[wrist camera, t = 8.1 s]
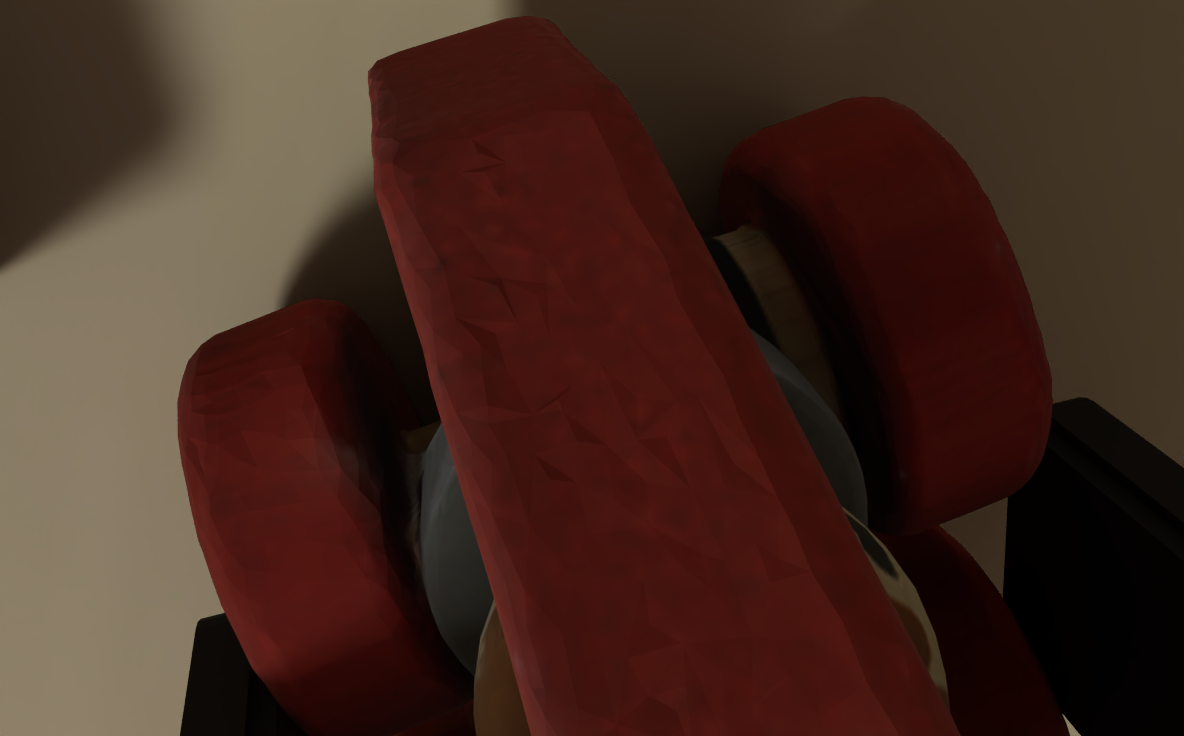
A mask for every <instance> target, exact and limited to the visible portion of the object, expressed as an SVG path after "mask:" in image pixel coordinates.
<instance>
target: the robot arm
mask: <svg viewBox="0 0 1184 736" xmlns="http://www.w3.org/2000/svg"><path fill="white" fill-rule="evenodd" d="M1003 599H1004V600H1005V602H1006V603H1007V605H1008V607H1009V608H1010V610H1011V612H1012V613H1013V615H1014V617H1015V619H1016V621H1017V623H1018V624H1019V626H1020V627H1021V629H1022V630H1023V632H1024V634H1025V636H1026V638H1027V640H1028V642H1029V644H1030V646H1031V647H1032V649H1033V651H1034V653H1035V654H1036V656H1037V658H1038V659H1039V661H1040V663H1041V665H1042V668H1043V670H1044V672H1045V674H1046V676H1047V679H1048V681H1049V683H1050V685H1051V688H1052V690H1053V693H1054V695H1055V697H1056V700H1057V702H1058V705H1059V707H1060V710H1061V712H1062V714H1063V715H1064V716H1065V717H1066V718H1067V720H1068V721H1069V722H1070V723H1071V724H1072V725H1073V727H1074V728H1075V729H1076V730H1077V731H1078V733H1079V734H1080V735H1081V736H1184V468H1183V467H1182V466H1180V465H1179V464H1178V463H1176V462H1175V461H1174V460H1172V459H1171V458H1169V457H1168V456H1167V455H1165V454H1164V453H1163V452H1161V451H1160V450H1159V449H1157V448H1156V447H1155V446H1153V445H1152V444H1151V443H1149V442H1148V441H1146V440H1145V439H1144V438H1142V437H1141V436H1140V435H1138V434H1137V433H1136V432H1134V431H1133V430H1132V429H1130V428H1129V427H1128V426H1126V425H1125V424H1124V423H1122V422H1121V421H1119V420H1118V419H1117V418H1115V417H1114V416H1113V415H1111V414H1110V413H1109V412H1107V411H1106V410H1105V409H1103V408H1102V407H1101V406H1099V405H1098V404H1096V403H1095V402H1094V401H1092V400H1090V399H1088V398H1080V397H1079V398H1075V399H1071V400H1067V401H1063V402H1059V403H1055V404H1053V405H1052V416H1051V427H1050V432H1049V436H1048V440H1047V444H1046V448H1045V452H1044V455H1043V458H1042V461H1041V463H1040V464H1039V466H1038V468H1037V469H1036V471H1035V473H1034V474H1033V476H1032V477H1031V478H1030V479H1029V480H1028V482H1027V483H1026V484H1025V485H1024V486H1023V487H1022V488H1021V489H1019V490H1018V491H1016V492H1015V493H1014V494H1012V495H1011V496H1009V497H1008V507H1007V526H1006V546H1005V566H1004V585H1003ZM180 736H309V735H308V734H306V733H305V732H304V731H303V730H302V729H301V728H300V727H299V726H298V725H297V724H296V723H295V722H294V721H293V720H292V719H291V718H290V717H289V716H288V715H287V714H286V713H285V712H284V711H283V710H282V708H281V707H280V705H279V704H278V702H277V701H276V699H275V698H274V697H273V695H272V694H271V692H270V691H269V689H268V688H267V686H266V685H265V683H264V682H263V681H262V680H261V678H260V677H259V676H258V675H257V674H256V672H255V671H254V670H253V669H252V667H251V665H250V663H249V661H248V659H247V657H246V654H245V652H244V650H243V648H242V646H241V644H240V642H239V640H238V638H237V636H236V634H235V632H234V630H233V628H232V626H231V624H230V622H229V620H228V618H227V616H226V614H225V613H222V614H218V615H215V616H211V617H207V618H203V619H200V620H199V621H198V623H197V627H196V631H195V638H194V644H193V651H192V658H191V665H190V671H189V678H188V685H187V691H186V698H185V705H184V712H183V718H182V725H181V732H180Z"/></svg>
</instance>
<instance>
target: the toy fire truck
mask: <svg viewBox="0 0 1184 736" xmlns="http://www.w3.org/2000/svg"><path fill="white" fill-rule="evenodd" d="M368 85H369V96H370V101H371V114H372V134H371V142H372V155H373V162H374V192H375V195H376V198H377V202H378V205H379V208H380V211H381V214H382V217H383V220H384V224H385V227H386V230H387V234H388V237H389V241H390V244H391V247H392V251H393V254H394V258H395V261H396V264H397V268H398V271H399V274H400V278H401V281H402V284H403V288H404V291H405V294H406V297H407V301H408V304H409V307H410V310H411V313H412V316H413V320H414V323H415V326H416V329H417V332H418V335H419V339H420V342H421V345H422V348H423V353H424V357H425V361H426V366H427V370H428V375H429V379H430V384H431V388H432V391H433V395H434V398H435V401H436V405H437V408H438V411H439V415H440V418H441V420H440V421H437V422H434V423H432V424H429V425H426V426H424V427H421V426H420V424H419V422H418V420H417V417H416V415H415V413H414V411H413V409H412V406H411V404H410V402H409V400H408V398H407V396H406V393H405V391H404V389H403V387H402V385H401V382H400V380H399V378H398V376H397V374H396V372H395V371H394V369H393V367H392V366H391V364H390V362H389V361H388V359H387V357H386V356H385V354H384V352H383V351H382V349H381V347H380V346H379V344H378V342H377V341H376V339H375V338H374V336H373V334H372V333H371V331H370V330H369V328H368V327H367V325H366V324H365V323H364V322H363V321H362V319H361V318H360V317H359V316H358V314H357V313H355V312H354V311H353V310H352V309H351V308H350V307H348V306H346V305H345V304H343V303H341V302H339V301H332V300H323V299H309V300H304V301H300V302H297V303H295V304H292V305H290V306H287V307H285V308H282V309H280V310H277V311H275V312H272V313H270V314H267V315H265V316H262V317H260V318H257V319H255V320H252V321H249V322H247V323H244V324H242V325H239V326H237V327H234V328H232V329H229V330H227V331H224V332H221V333H219V334H216V335H214V336H213V337H212V338H210V339H209V340H207V341H206V342H205V343H203V344H202V345H201V346H200V347H199V348H198V350H197V351H196V352H195V353H194V354H193V356H192V357H191V358H190V359H189V361H188V363H187V366H186V369H185V372H184V375H183V378H182V382H181V387H180V392H179V397H178V402H177V404H178V440H179V447H180V454H181V461H182V466H183V471H184V476H185V481H186V486H187V491H188V496H189V501H190V506H191V511H192V515H193V519H194V524H195V528H196V532H197V537H198V540H199V543H200V546H201V548H202V551H203V554H204V557H205V560H206V563H207V566H208V569H209V572H210V575H211V578H212V581H213V583H214V586H215V589H216V592H217V594H218V597H219V600H220V603H221V605H222V607H223V610H224V612H225V614H226V616H227V618H228V620H229V622H230V624H231V626H232V628H233V630H234V632H235V634H236V636H237V638H238V640H239V642H240V644H241V646H242V648H243V650H244V652H245V654H246V657H247V659H248V661H249V663H250V665H251V667H252V669H253V670H254V671H255V672H256V674H257V675H258V676H259V677H260V678H261V680H262V681H263V682H264V683H265V685H266V686H267V688H268V689H269V691H270V692H271V694H272V695H273V697H274V698H275V699H276V701H277V702H278V704H279V705H280V707H281V708H282V710H283V711H284V712H285V713H286V714H287V715H288V716H289V717H290V718H291V719H292V720H293V721H294V722H295V723H296V724H297V725H298V726H299V727H300V728H301V729H302V730H303V731H304V732H305V733H306V734H308V735H309V736H1070V734H1069V731H1068V727H1067V724H1066V722H1065V719H1064V717H1063V715H1062V712H1061V710H1060V707H1059V705H1058V702H1057V700H1056V697H1055V695H1054V693H1053V690H1052V688H1051V685H1050V683H1049V681H1048V679H1047V676H1046V674H1045V672H1044V670H1043V668H1042V665H1041V663H1040V661H1039V659H1038V658H1037V656H1036V654H1035V653H1034V651H1033V649H1032V647H1031V646H1030V644H1029V642H1028V640H1027V638H1026V636H1025V634H1024V632H1023V630H1022V629H1021V627H1020V626H1019V624H1018V623H1017V621H1016V619H1015V617H1014V615H1013V613H1012V612H1011V610H1010V608H1009V607H1008V605H1007V603H1006V602H1005V600H1004V599H1003V597H1002V596H1001V594H1000V593H999V591H998V590H997V588H996V587H995V585H994V584H993V583H992V582H991V580H990V579H989V578H988V576H987V575H986V574H985V572H984V571H983V570H982V569H981V567H980V566H979V565H978V563H977V562H976V561H975V560H974V558H973V557H972V556H971V555H970V554H969V553H968V552H967V551H966V549H965V548H964V547H963V546H962V545H961V544H960V543H959V542H958V541H957V540H956V539H954V538H953V537H952V536H951V535H949V534H948V533H947V532H946V531H945V530H944V529H943V528H941V527H940V526H939V524H941V523H944V522H947V521H949V520H952V519H955V518H957V517H960V516H962V515H965V514H967V513H970V512H972V511H975V510H977V509H980V508H982V507H985V506H987V505H990V504H992V503H994V502H997V501H999V500H1002V499H1004V498H1006V497H1009V496H1011V495H1012V494H1014V493H1015V492H1016V491H1018V490H1019V489H1021V488H1022V487H1023V486H1024V485H1025V484H1026V483H1027V482H1028V480H1029V479H1030V478H1031V477H1032V476H1033V474H1034V473H1035V471H1036V469H1037V468H1038V466H1039V464H1040V463H1041V461H1042V458H1043V455H1044V452H1045V448H1046V444H1047V440H1048V436H1049V432H1050V427H1051V416H1052V405H1053V398H1052V378H1051V373H1050V368H1049V364H1048V361H1047V358H1046V354H1045V349H1044V344H1043V339H1042V334H1041V331H1040V328H1039V326H1038V323H1037V320H1036V317H1035V314H1034V310H1033V307H1032V303H1031V299H1030V296H1029V293H1028V290H1027V288H1026V285H1025V282H1024V279H1023V277H1022V274H1021V271H1020V268H1019V266H1018V263H1017V260H1016V258H1015V255H1014V253H1013V250H1012V248H1011V245H1010V243H1009V241H1008V238H1007V236H1006V234H1005V232H1004V230H1003V229H1002V227H1001V225H1000V223H999V222H998V219H997V216H996V213H995V211H994V209H993V207H992V204H991V202H990V200H989V198H988V196H987V195H986V194H985V193H984V191H983V190H982V189H981V187H980V185H979V183H978V181H977V179H976V177H975V176H974V174H973V173H972V171H971V170H970V168H969V167H968V165H967V163H966V162H965V161H964V160H963V158H962V157H961V156H960V155H959V154H958V152H957V151H956V150H955V149H954V147H953V146H952V145H951V144H949V143H948V142H947V141H946V140H945V139H944V138H943V137H942V136H941V135H940V134H939V133H938V132H937V131H936V130H934V129H933V128H932V127H931V126H930V125H929V124H928V123H927V122H926V121H925V120H923V119H922V118H921V117H920V116H919V115H918V114H917V113H916V112H915V111H913V110H911V109H910V108H908V107H906V106H904V105H901V104H899V103H896V102H894V101H891V100H889V99H887V98H884V97H857V98H850V99H844V100H841V101H838V102H836V103H833V104H830V105H827V106H825V107H822V108H819V109H817V110H814V111H811V112H808V113H806V114H803V115H800V116H798V117H795V118H792V119H789V120H786V121H783V122H781V123H778V124H775V125H772V126H769V127H766V128H764V129H762V130H759V131H757V132H756V133H754V134H752V135H751V136H749V137H747V138H746V139H744V140H742V141H741V142H740V143H739V144H738V145H737V146H736V147H735V149H734V150H733V151H732V153H731V154H730V155H729V156H728V158H727V159H726V161H725V165H724V169H723V174H722V178H721V183H720V188H719V210H720V214H721V219H722V225H723V231H724V234H723V235H721V236H717V237H705V236H701V235H700V234H699V232H698V230H697V228H696V226H695V224H694V222H693V220H692V219H691V217H690V215H689V213H688V211H687V209H686V207H685V205H684V203H683V201H682V199H681V197H680V195H679V193H678V191H677V189H676V187H675V185H674V183H673V181H672V179H671V177H670V175H669V173H668V171H667V169H666V167H665V165H664V163H663V161H662V159H661V157H660V155H659V153H658V151H657V149H656V147H655V145H654V143H653V142H652V140H651V139H650V137H649V135H648V134H647V132H646V130H645V129H644V127H643V125H642V124H641V122H640V121H639V119H638V117H637V116H636V114H635V112H634V110H633V108H632V106H631V105H630V104H629V102H628V101H627V99H626V98H625V97H624V95H623V94H622V93H621V91H620V90H619V89H618V87H617V86H616V85H615V84H614V83H612V82H610V81H609V80H608V78H607V77H606V76H605V75H604V74H602V73H600V72H598V71H597V70H596V68H595V67H594V65H593V64H592V63H591V62H590V61H589V60H588V59H587V58H586V57H585V56H583V55H582V54H581V53H579V52H578V50H577V48H575V47H574V46H573V45H572V44H571V43H570V42H569V40H568V39H567V37H565V36H564V35H563V34H562V33H561V31H560V30H559V28H558V27H557V26H556V25H555V24H553V23H552V22H551V21H549V20H548V19H542V18H536V17H531V16H523V17H515V18H507V19H503V20H500V21H496V22H493V23H490V24H487V25H483V26H480V27H477V28H474V29H470V30H467V31H464V32H461V33H457V34H454V35H451V36H448V37H444V38H441V39H438V40H435V41H432V42H428V43H425V44H422V45H419V46H416V47H412V48H409V49H406V50H403V51H400V52H397V53H395V54H392V55H390V56H387V57H385V58H383V59H380V60H378V61H377V62H376V63H375V64H374V66H373V67H372V68H371V69H370V70H369V71H368Z"/></svg>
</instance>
